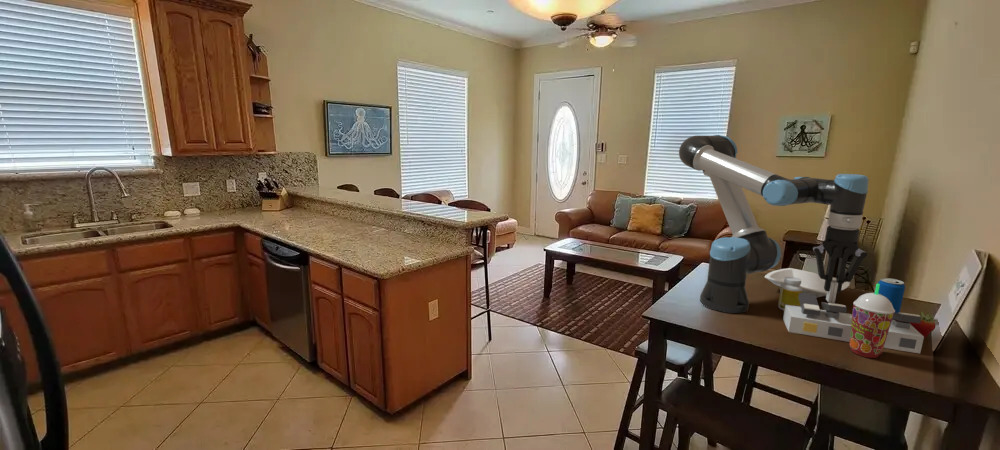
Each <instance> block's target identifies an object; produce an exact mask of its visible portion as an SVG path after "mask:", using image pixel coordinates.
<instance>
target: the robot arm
mask: <svg viewBox="0 0 1000 450" xmlns="http://www.w3.org/2000/svg"><path fill="white" fill-rule="evenodd" d="M737 154H738V147H737V145H736V142H735V141H734V140H733V139H732V138H730V137H728V136H727V135H721V134H714V135H693V136H689V137H688V138H687V139H685V140H684V141H683V142H682V143H680V147H679V150H678V156H679V159H680V161H681V163H682V164H684V165H685V166H687V167H689V168H691V169H693V170H696V171H699V172H701V171H702V173H703V175H704V176H706V177H709V179H710V182H711V183H712V187H713V189H714V192H715V195H716V197H717V199H718V201H719V204H720V206H721V209H722V211H723V213H724V216H725V219H726V221H727V224H728V226H729V229H730V232H731V234H732V236H730V237H726V236H725V237H720V238H719V237H718V238H717V239H715V240H713V242H712V243H711V247H710V250H709V262H708V270H707V271H708V272H707V273H708V274H707V281H706V283H705V285H704V287H703V289H702V290H701V293H700V294H699V295H700V296H699V302H701V303H702V304H703V305H702V304H701V305H702V306H704V305H705V306H704V307H706V306H707V307H706V308H708V307H709V308H708V309H710V308H711V310H713V309H714V311H716V310H718V311H717V312H721V311H722V313H729V314H741V313H745V312H747V311H748V310H749V306H750V305H749V304H750V303H749V299H748V294H747V289H746V281H747V275H749V274H754V273H759V272H762V273H763V272H766V271H768V270H771V269H773V268H775V267H776V266H777V265H778V264H779V262H780V260H781V259H782V249H781V247H780V244H779V243H778V242H777V241H776V240H775V239H773V238H771V237H769V236H768V234H767V231H766V230H765V229H763V228H762V227H759V225H758V223H757V221H756V218H755V216H754V213H753V210H752V209H751V206H750V204H749V202H748V199H747V197H746V194H745V192H744V190H743V189H746V190H747V191H750V192H753V193H755V194H757V195H759V196H761V197H763V199H764V201H765V202H766V203H768V204H769V205H771V206H775V207H776V206H778V207H779V206H780V207H785V206H790V205H799V204H808V203H811V204H821V205H827V206H828V205H829V206H830V208H829V215H828V220H827V224H828V226H827V227H826V230H825V231H826V233H825V237H824V238H825V239H824V240H823V242H822V243H821V244H820V245H818V246H812V250H813V252H814V254H815V259H816V265H817V266H816V267H817V274H818V275H819V277H820V278H821V279H824V280H825V284H824V289H825V291H827V296H825V300H826V301H827V303H833V304H836V299H837V298H836V297H837V293H838V294H839V293H841V291H842V290H841V288H842V284H843V283H844V282H850V283H851V282H852V280H853V278H854V276H855V274H856V272H857V270H858V268H859V266H860V264H861V262H862V261H863V260H864V259H865V258H866V257H867V256H868V253H867V252H866V251H865V250H862V249H861V248H860V246H859V244H858V241H859V238H860V237H859V236H860V233H861V231H860V229H859V228H861V227H862V226H861V225H862V220H863V215H864V214H863V213H864V209H865V205H866V201H867V200H866V199H867V195H868V192H869V191H868V188H869V178H868V176H866V175H864V174H863V175H862V174H855V173H853V174H852V173H839V174H836V175H835V179H825V178H819V177H817V178H816V177H810V176H795V177H793V178H792V179H791V178H787V177H784V176H781V175H779V174H777V173H774V172H772V171H769V170H766V169H764V168H760V167H759V166H756V165H754V164H750V163H749V162H746V161H743V160H740V159H738V158H737ZM824 251H825V252H826V253H827V255H828V259H827V260H828V261H827V266H826V272H825V265H824V264H825V263H824V257H823V253H824ZM853 254H854V257H853V258H852V260H851V262H850V264H849V266H848V268H847V263H848V260H849V257H851V256H852V255H853ZM837 259H839V260H838V265H837V271H836V277H835V278H836V280H832V278H834V273H835V272H834V271H835V267H836V263H837ZM846 268H847V270H846Z"/></svg>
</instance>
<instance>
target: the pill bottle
mask: <svg viewBox="0 0 1000 450" xmlns="http://www.w3.org/2000/svg"><path fill="white" fill-rule="evenodd" d="M784 282H785V283H783V284H782V285H781V287H780V288H779V289H780V290H779V295H778V296H779V298H778V304H777V307H778V309H780V310H781V311H783V312H784V310H785V305H791V306H798V307H801V305H800V301H799V298H798V297H799V293H802V292H803V288H802V287H801V286H800V285H801V279H799V278H795V277H785V279H784Z"/></svg>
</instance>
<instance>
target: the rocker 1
mask: <svg viewBox="0 0 1000 450" xmlns="http://www.w3.org/2000/svg"><path fill="white" fill-rule="evenodd" d="M798 298H799V301H800V307H801V309H802V313H803V314H808V315H814V316H819V315H820V310H821V307H820V306H819V305H820V304H819V303H818V300H817V298H816V296H815V295H812V294H805V293H799V297H798Z"/></svg>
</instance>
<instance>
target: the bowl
mask: <svg viewBox="0 0 1000 450" xmlns="http://www.w3.org/2000/svg"><path fill="white" fill-rule="evenodd" d="M785 277H795V278H799V279H801V285H800V286H801V287H802V288H803V292H802V293H805V294H812V295H815V296H816V299H817V298H820V297H826V296H827V291H825V289H824V284H825V280H824V279H821V278H820V277H819V275H818V272H817V273H816V272H812V271H807V270H802V269H797V268H792V267H787V268H780V269H777V270H773V271H770V272H768V273H767V274H765V276H764V278H765V279H766V280H768V281H769V282H771V283H772V284H773V285H775V286H778V287H780V288H781V285H782V284H783V283H785V282H784V279H785ZM832 280H836V277H833V278H832ZM850 284H851V281H850V282H844V283H843V284H842V288H841V291H844V290H845V289H847V288H848V287H850Z"/></svg>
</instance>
